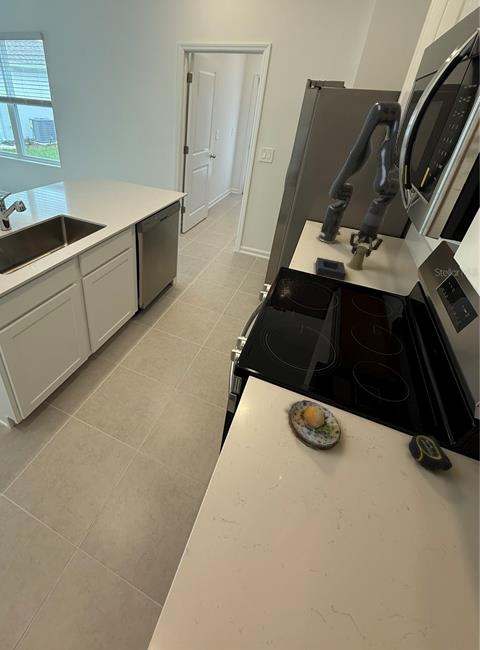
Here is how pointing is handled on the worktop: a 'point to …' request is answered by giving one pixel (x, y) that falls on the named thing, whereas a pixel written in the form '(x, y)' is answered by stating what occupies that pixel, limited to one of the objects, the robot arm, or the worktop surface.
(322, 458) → the worktop surface
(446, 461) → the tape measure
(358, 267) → the olive flared shaker
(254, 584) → the worktop surface
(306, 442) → the speckled dish
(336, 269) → the base pad
